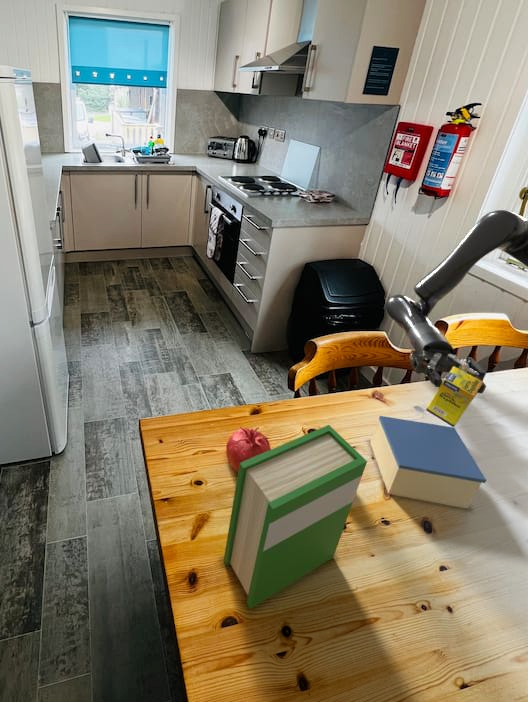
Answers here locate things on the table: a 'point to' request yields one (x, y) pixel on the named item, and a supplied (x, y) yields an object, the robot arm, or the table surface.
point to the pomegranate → (245, 446)
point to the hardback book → (291, 510)
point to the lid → (430, 449)
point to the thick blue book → (419, 478)
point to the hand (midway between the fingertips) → (460, 387)
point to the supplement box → (454, 396)
